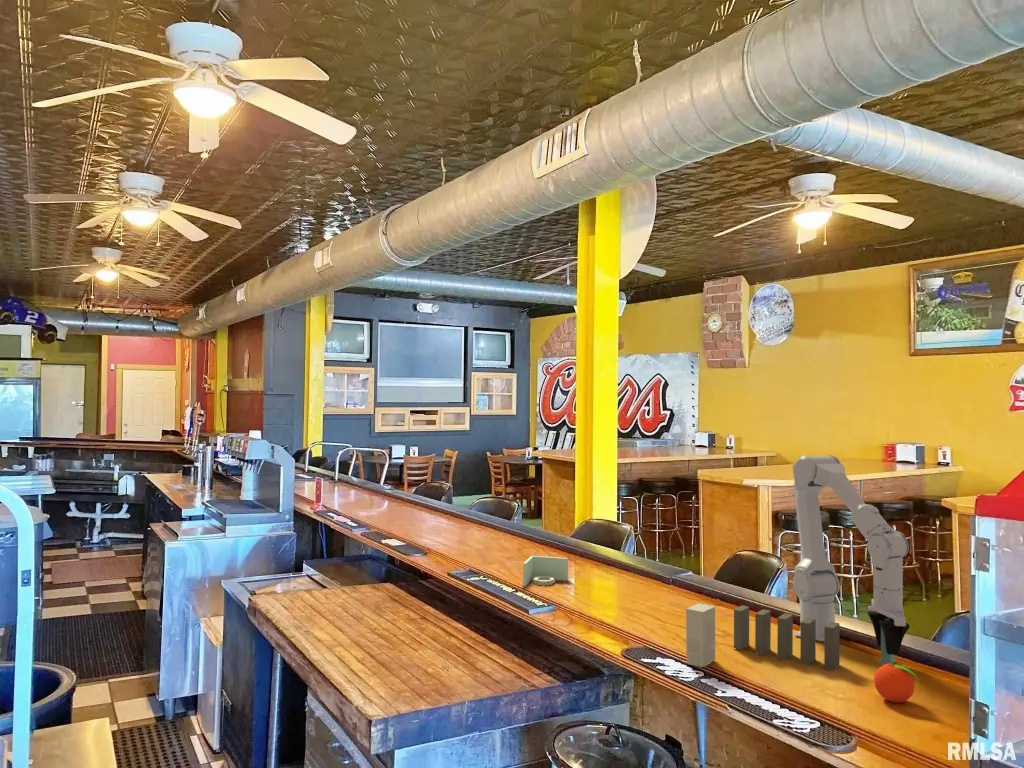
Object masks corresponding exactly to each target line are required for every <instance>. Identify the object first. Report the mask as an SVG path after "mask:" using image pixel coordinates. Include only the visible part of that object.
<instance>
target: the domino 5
mask: <svg viewBox="0 0 1024 768" xmlns="http://www.w3.org/2000/svg"><path fill="white" fill-rule="evenodd" d="M823 643H824V650H823V651H824V655H823V656H824V659H823V660H824V662H823V663H824V665H823V666H824V668H823V669H824V670H828V671H833V672H834V671H835V670H836V668H838V667H839V666H840V623H839V622H836V621H835V622H830V623H828V624H827V625H826V626H825V634H824V642H823Z"/></svg>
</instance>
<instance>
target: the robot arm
mask: <svg viewBox="0 0 1024 768" xmlns="http://www.w3.org/2000/svg"><path fill="white" fill-rule="evenodd" d="M845 470H846V467H845V466H844V465H843V464H842V463H841V461H840V459H839V458H838V457H837V456H836V455H833V454H831V455H830V454H829V455H828V454H827V455H820V456H819V455H816V456H813V455H809V456H808V455H802V456H799V457H798V458H797V460H796V461H795V462H794V463H793V465H792V471H793V481H794V483H793V493H794V494H793V495H794V500H795V511H796V518H797V519H796V520H797V527H798V536H799V544H800V551H801V552H800V553H801V560H800V561H799V562H798V563H797V564H796V565H795V567H794V568H793V571H794V576H793V581H792V583H793V584H792V586H793V590H794V592H795V595H797V598H798V599H799V600H800V607H799V609H800V611H799V612H800V618H799V620H800V621H799V623H800V625H799V626H800V628H799V629H800V630H798V631H797V632H795V633H794V636H795V637H799V638H801V621H803V620H804V619H806V618H807V617H808V618H814V619H816V641H819V642H823V643H824V634H825V626H826V625H827V624H828V623H830V622H836V608H835V605H834V603H833V601H835V596H837V595H838V593H839V591H840V588H841V587H840V581H839V578H838V576H837V573H836V569H835V566H834V565H833V564H832V563H831V562H830V561H829V560H828V559H827V557H826V549H825V541H824V540H825V539H824V533H823V525H822V517H821V510H820V502H819V501H820V500H819V494H820V493H821V492H822V490H823V489H824V488H826V487H827V488H830V490H832V491H833V492H834V493H835V495H837V497H838V498H839V499H840V500H841V502H843V504H844V505H845V506H846V507H847V508H848V509H849V510H850V511H851V514H850V520H851V521H852V522H853V524H854V526H855V527H856V528H857V530H858V531H859V532H860V533H861V534H862V536H863V537H864V538H865V541H867V542H868V543H866V548H867V551H868V554H869V555H870V557H871V564H872V567H873V578H872V580H873V584H872V585H873V586H872V587H873V598H871V605H867V610H869V611H867V615H868V617H869V620H870V621H871V624H872V626H873V630H874V634H875V639H876V643H877V646H879V647H881V627H882V630H883V633H884V637H885V645H886V651H887V654H890V655H895V656H898V655H899V654H900V650H901V647H902V642H903V639H904V637H905V635H906V633H907V632H908V630H909V629H910V624H909V623H907V618H906V616H905V613H904V612H905V611H904V610H905V609H904V608H903V605H904V604H903V598H904V597H903V590H904V589H903V585H904V584H903V582H904V581H903V580H904V579H903V578H904V577H903V576H904V575H903V562H904V561H903V558H904V557H906V555H908V553H909V547H910V545H909V542H908V539H907V538H906V536H905V534H904V533H902V532H901V531H898V530H895V529H894V528H892V526H891V525H889V523H887V521H886V520H885V519H884V518H883V516H882V515H881V514H880V510H879V509H878V508H877V506H874V505H873V504H866V503H865V501H864V500H863V498H862V497H861V496H860V494H859V493H858V491H857V490H856V488H855V487H854V485H853V484H852V482H851V480H850V479H849V478H848V477H847V474H846V473H845V472H846V471H845ZM885 619H889V621H887V620H885Z"/></svg>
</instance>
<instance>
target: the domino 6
mask: <svg viewBox="0 0 1024 768" xmlns="http://www.w3.org/2000/svg"><path fill="white" fill-rule="evenodd" d="M885 620H887V621H889V619H885ZM895 656H896V655H890V654H887V651H886V645H885V637H884V633H883V630H882V627H881V646H880V667H881V666H883V665H885V664H895V661H896V659H895V658H896V657H895Z"/></svg>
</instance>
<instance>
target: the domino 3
mask: <svg viewBox="0 0 1024 768" xmlns="http://www.w3.org/2000/svg"><path fill="white" fill-rule="evenodd" d="M793 621H794V615H793V614H791V613H785V612H783V614H781V615H780V616H778V617H777V637H776V638H777V643H776V645H777V649H776V650H777V651H776V652H777V658H779V659H778V660H782V659H784V660H783V661H787V660H788V659H789V658H790V657H792V656H793V655H794V650H793V645H794V644H793V642H794V641H793V640H794V638H793V636H794V635H793V633H794V632H793V631H794V630H793V629H794V628H793V627H794V624H793V623H794V622H793ZM777 658H776V659H777ZM786 659H787V660H786Z"/></svg>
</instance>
